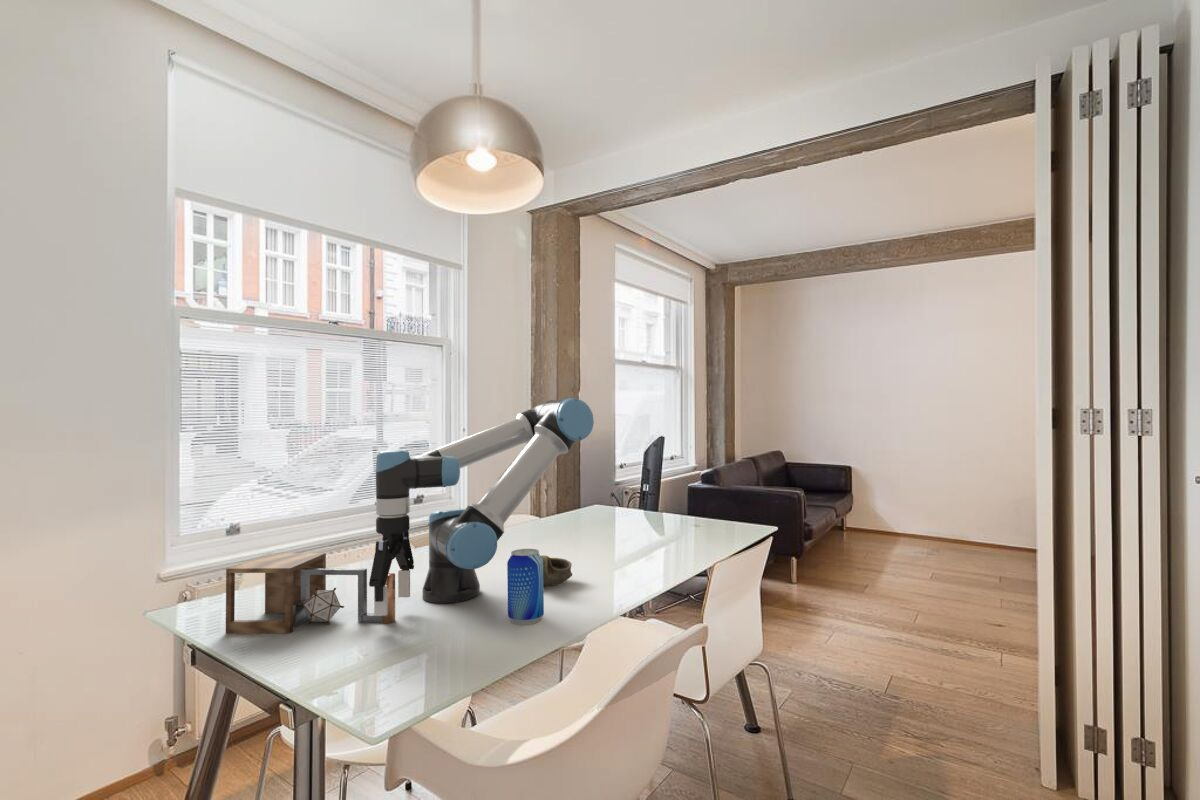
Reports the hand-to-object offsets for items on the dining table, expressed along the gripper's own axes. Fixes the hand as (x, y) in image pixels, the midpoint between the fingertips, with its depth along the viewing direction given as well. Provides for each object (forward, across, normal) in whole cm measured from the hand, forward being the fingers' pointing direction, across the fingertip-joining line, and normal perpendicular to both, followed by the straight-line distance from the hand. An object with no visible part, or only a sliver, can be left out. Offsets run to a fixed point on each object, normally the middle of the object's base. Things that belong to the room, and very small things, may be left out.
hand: (393, 605), depth 137 cm
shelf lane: (+4, 0, -28) cm, 28 cm away
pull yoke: (+4, 0, -11) cm, 12 cm away
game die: (+4, +1, -17) cm, 17 cm away
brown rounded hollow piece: (+4, -30, +32) cm, 44 cm away
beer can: (+4, -1, +32) cm, 32 cm away
